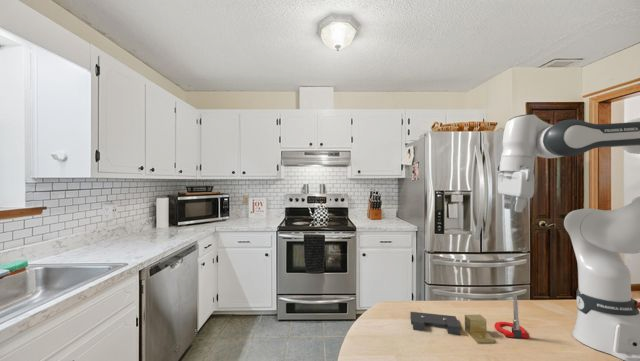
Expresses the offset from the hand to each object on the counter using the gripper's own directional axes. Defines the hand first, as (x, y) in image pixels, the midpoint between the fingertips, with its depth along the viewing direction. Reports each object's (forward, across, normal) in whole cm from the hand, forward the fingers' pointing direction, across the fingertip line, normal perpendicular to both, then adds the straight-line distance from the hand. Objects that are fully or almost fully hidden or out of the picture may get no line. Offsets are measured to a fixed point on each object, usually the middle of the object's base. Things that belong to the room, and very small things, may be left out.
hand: (512, 210), depth 91 cm
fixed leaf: (+41, -1, +20) cm, 46 cm away
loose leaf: (+40, -5, +7) cm, 41 cm away
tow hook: (+39, +1, -3) cm, 39 cm away
